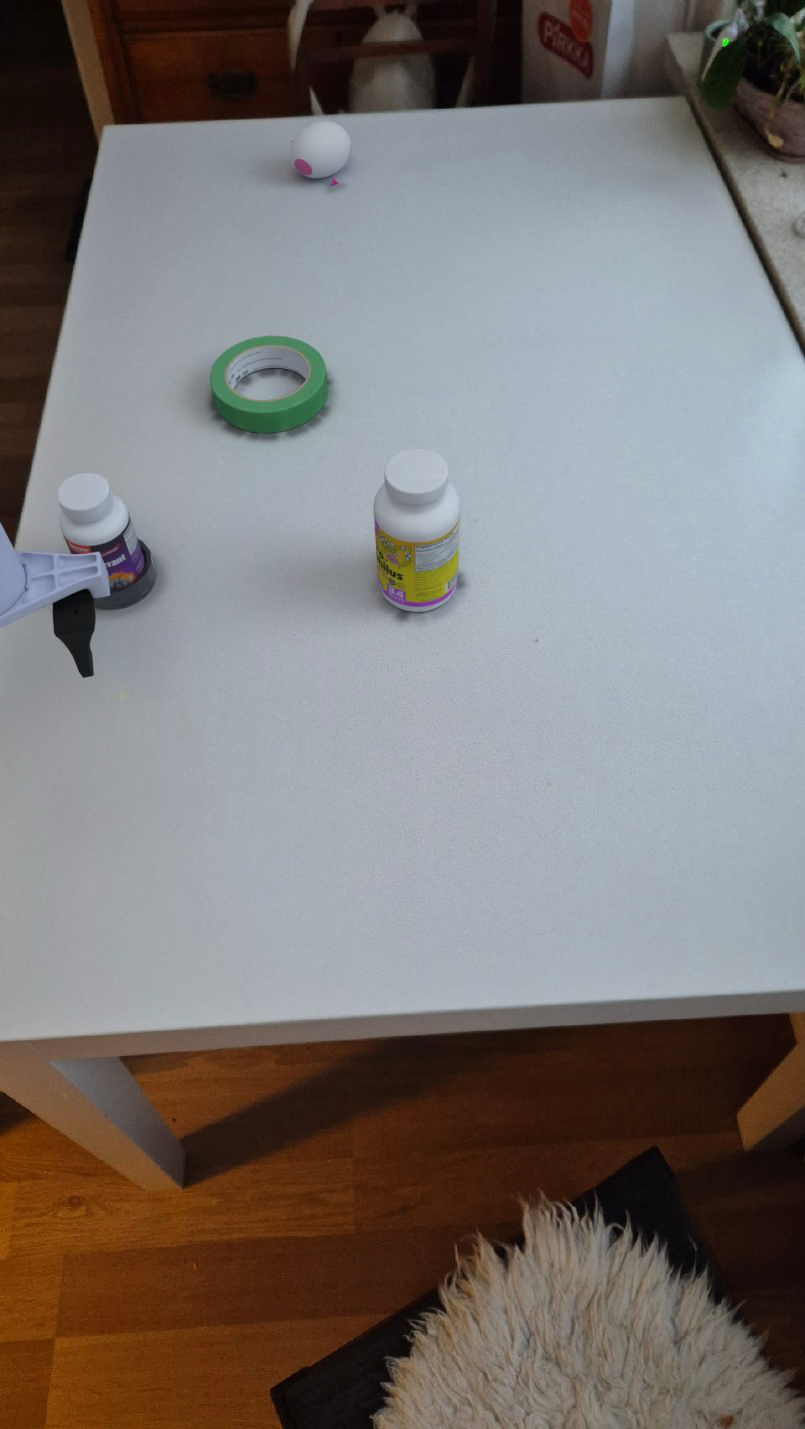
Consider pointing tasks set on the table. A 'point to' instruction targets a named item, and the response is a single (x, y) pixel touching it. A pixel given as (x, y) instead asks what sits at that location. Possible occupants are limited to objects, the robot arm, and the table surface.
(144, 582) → the round open container
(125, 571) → the pill bottle
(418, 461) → the supplement bottle
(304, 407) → the tape roll
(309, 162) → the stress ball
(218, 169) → the table surface
